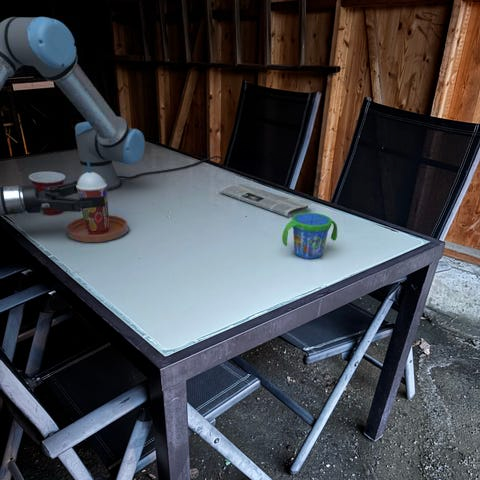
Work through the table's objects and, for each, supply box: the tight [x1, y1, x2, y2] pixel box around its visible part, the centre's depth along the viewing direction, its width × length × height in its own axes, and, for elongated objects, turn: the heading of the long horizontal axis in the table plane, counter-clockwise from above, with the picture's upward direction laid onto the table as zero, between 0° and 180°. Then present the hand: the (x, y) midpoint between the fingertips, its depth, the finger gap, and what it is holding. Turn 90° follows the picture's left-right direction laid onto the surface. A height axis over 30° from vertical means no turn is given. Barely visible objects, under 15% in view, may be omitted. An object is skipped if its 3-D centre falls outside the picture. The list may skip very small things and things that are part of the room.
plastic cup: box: [28, 171, 66, 216], centre depth 152 cm, size 11×11×12 cm
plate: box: [66, 214, 129, 243], centre depth 141 cm, size 17×17×2 cm
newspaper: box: [219, 183, 313, 218], centre depth 168 cm, size 35×12×4 cm, turn 43°
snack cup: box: [281, 212, 338, 260], centre depth 128 cm, size 16×10×10 cm
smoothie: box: [76, 162, 110, 234], centre depth 136 cm, size 8×8×20 cm
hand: (103, 194), depth 136 cm, fingers open, 13 cm apart
